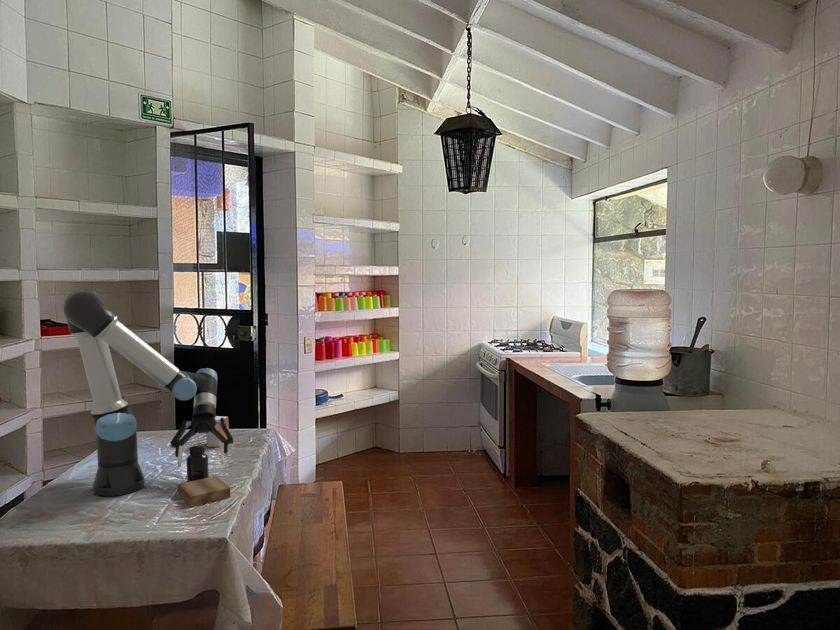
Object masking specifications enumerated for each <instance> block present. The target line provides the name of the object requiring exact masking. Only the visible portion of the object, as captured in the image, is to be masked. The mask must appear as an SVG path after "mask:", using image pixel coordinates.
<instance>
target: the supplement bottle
mask: <svg viewBox="0 0 840 630" xmlns="http://www.w3.org/2000/svg"><path fill="white" fill-rule="evenodd" d="M205 452H206V450H205V446H204V445H199V444H198V445H193V446H190V447H189V448H188V454H189V455H188V456H187V457H186V479H187V481H186V482H191V481H195V480H200V479H205V478H209V476H210V474H209V473H210V471H209V456H208V454H206V453H205Z"/></svg>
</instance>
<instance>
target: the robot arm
mask: <svg viewBox="0 0 840 630" xmlns="http://www.w3.org/2000/svg"><path fill="white" fill-rule="evenodd" d="M62 307H63V309H62V310H63V314H64V317H65V318H66V323H67V326H68V327H67V328H68V330H69V334H70V335H72V336H73V337H75V338H76V340H77V345H78V348H79V352H80V355H81V360H82V363H83V368H84V371H85V375H86V379H87V383H88V386H89V387H88V388H89V391H90V395H91V398H92V403H93V407H92V409H91V410H90V415H91V420H92V423H93V429H94V432H95V438H96V453H97V470H96V472H95V477H94V480H93V484H92V493H93V492H94V493H95V494H94V493H93V494H94V495H96V494H98V495H97V496H99V495H103V496H102V497H117V496H116V495H118V496H123V495H122V494H124V495H128V494H131V493H130V492H132V493H134V492H133V491H135V492H136V490H137V491H139V490H141V489H143V487H144V486H145V485H146V483H145V476H144V473H143V471H142V468H141V466H140V464H139V456H138V433H137V428H138V423H137V419H136V417H135V416H134V415H133V414H131V411H130V406H129V403H128V401H126V400H124V399H123V398H122V393H121V389H120V387H119V382H118V378H117V373H116V370H115V367H114V362H113V358H112V353H111V350H110V348H112V349H114V350H115V351H116V352H117V353H118V354H120V355H122V356H123V357H124V358H125V359H126V360H128V361H129V362H131V363H132V364H133V365H135V367H137V368H139V369H140V370H141V371H142V372H143V373H144V374H146V375H148V376H149V377H150V378H152V379H153V380H154V381H156V382H157V384H158V385H159V389H160V390H164V391H167V392H169V393H171V394H172V395H173V397H175V398H176V399H178V400H179V401H182V402H183V401H189V400H191V399H192V398H193V409H192V410H193V411H192V420H191V421H190V420H189V421H187V419H183V420H182V422H181V425H180V427H179V429H178V431H176V433H175V434H174V435H173V437H172V438H171V441H170V448H172V449H173V448H175V449H174V450H175V452H174V454H175V457H176V458H177V467H178V468H181V467H182V460H183V459H182V458H183V450H184V449H183V446H184V445H186V443H187V442H188V441H189V440H190V439H192V438H193V436H195V435H196V434H206V433H208V432H211V433H212V434H214V435H215V436H216V437H217V438H218V439H219V440H220V441H221V442H222V444H221V446H220V447H221V448H220V450H221V451H220V462H221V463H220V464H221V465H224V464H225V455H226V454H227V455H228V452H229V450H228V449H229V445H231V444H234V437H233V436H232V434H231V432H230V430H229V431H228V429H227V427H226V425H225V423H224V418H221V419H220V420H216V419H215V417H216V412H217V411H216V410H217V409H216V408H217V391H218V374H217V371H215V370H214V369H212V368H209V367H206V368H200V369H198V370H197V371H196V372H195V373H194V372H189V371H183V370H180V369H179V367H177V366H176V365H174V364H173V363H172V362H171V361H170V360H168V359H167V358H166V357H164V356H163V355H162V354H161V353H160V352H158V351H157V350H156V349H155V348H153V347H152V346H151V345H149V344H148V343H147V342H146V341H145V340H143V339H142V338H140V336H138V335H137V334H135V332H133V331H132V330H131V329H129V328H128V327H127V326H125V324H123V323H122V322H120V320H118V319H119V318H118V315H117V314H116V313H115V312H113V311H112V310H111V308H109V307H108V306H107V305H106V303H105V302H104V300H103V298H102V296H101V295H100V294H98V293H97V292H95V291H93V290H92V289H87V288H85V289H78V290H74V291H72V292H71V293H70V294H68V295H67V296H66V298H65V299H64V301H63V306H62ZM216 424H218V425H219V426H221V428H222V430H223V431H224V433H225V435H226V437H227V439H226V438H225V437H224V436H223V435H222V434H221V433H220V432H219V431H218V430H217V429H216V428H215V427H214V426H215V425H216ZM190 426H191V427H190ZM188 428H190V429H189V430H188V431H187V429H188ZM186 431H187V432H186ZM184 433H185V434H184ZM144 484H145V485H144ZM140 488H141V489H140ZM138 489H139V490H138ZM127 493H128V494H127Z"/></svg>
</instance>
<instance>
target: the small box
mask: <svg viewBox="0 0 840 630" xmlns="http://www.w3.org/2000/svg"><path fill="white" fill-rule="evenodd" d="M221 418H224V423H225V425H226V427H227V429H228V431H229V432H230V430H229V428H230V427H229V416H222V415H221V416H220V415H219V416H218V415H215V419H216V420H220V419H221ZM214 427H215V428H216V429H217V430H218V431H219V432H220V433H221V434H222V435H223V436H224V437H225V438H226V439H227V437H226V435H225V433H224V431H223V430H222V428H221V426H219V425H218V424H216V425H215V426H214ZM205 434H206V446H207V447H212V448H213V447H215V448H220V447H221V444H222V442H221V441H220V440H219V439H218V438H217V437H216V436H215V435H214V434H212V433H211V432H208V433H205Z"/></svg>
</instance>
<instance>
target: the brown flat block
mask: <svg viewBox="0 0 840 630" xmlns="http://www.w3.org/2000/svg"><path fill="white" fill-rule="evenodd" d="M177 487H178V488H177V489H178V494H179V495H180V497H182V499H183V500H184V501H186V503H187V504H188V505H189V506H190V507H194V506H198V505H202V504H206V503H210V502H215V501H221V500H224V499H228V498H231V487H230V486H229V485H227V484H226V483H225V482H224V481H223V480H222V479H220V478H219V477H218V476H216V475H215V476H210V477H209V478H205V479H200V480H195V481H191V482H187V481H186V482H182V483H178V484H177ZM227 497H228V498H227Z"/></svg>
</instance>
